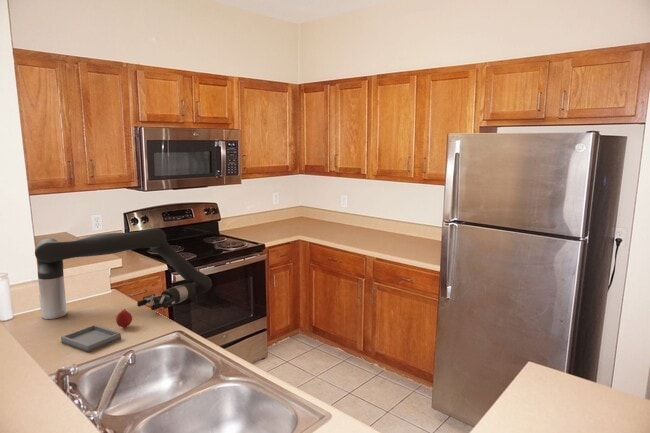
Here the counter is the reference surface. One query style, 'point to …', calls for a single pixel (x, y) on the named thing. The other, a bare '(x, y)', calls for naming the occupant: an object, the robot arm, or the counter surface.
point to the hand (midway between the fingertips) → (144, 306)
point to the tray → (90, 338)
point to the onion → (123, 318)
